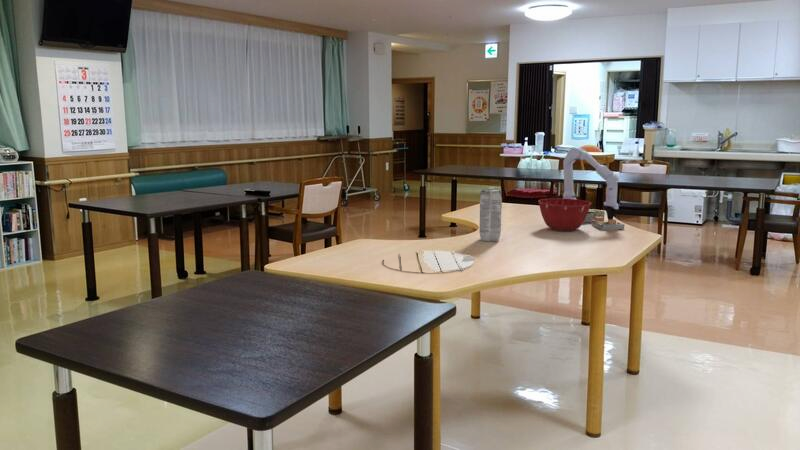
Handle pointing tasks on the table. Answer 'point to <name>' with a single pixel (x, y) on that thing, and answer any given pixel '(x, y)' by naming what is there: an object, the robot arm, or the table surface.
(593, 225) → the board
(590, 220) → the coffee box
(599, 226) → the tray
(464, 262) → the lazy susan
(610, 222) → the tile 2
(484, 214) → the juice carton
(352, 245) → the table surface
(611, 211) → the robot arm
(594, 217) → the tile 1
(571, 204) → the mixing bowl
